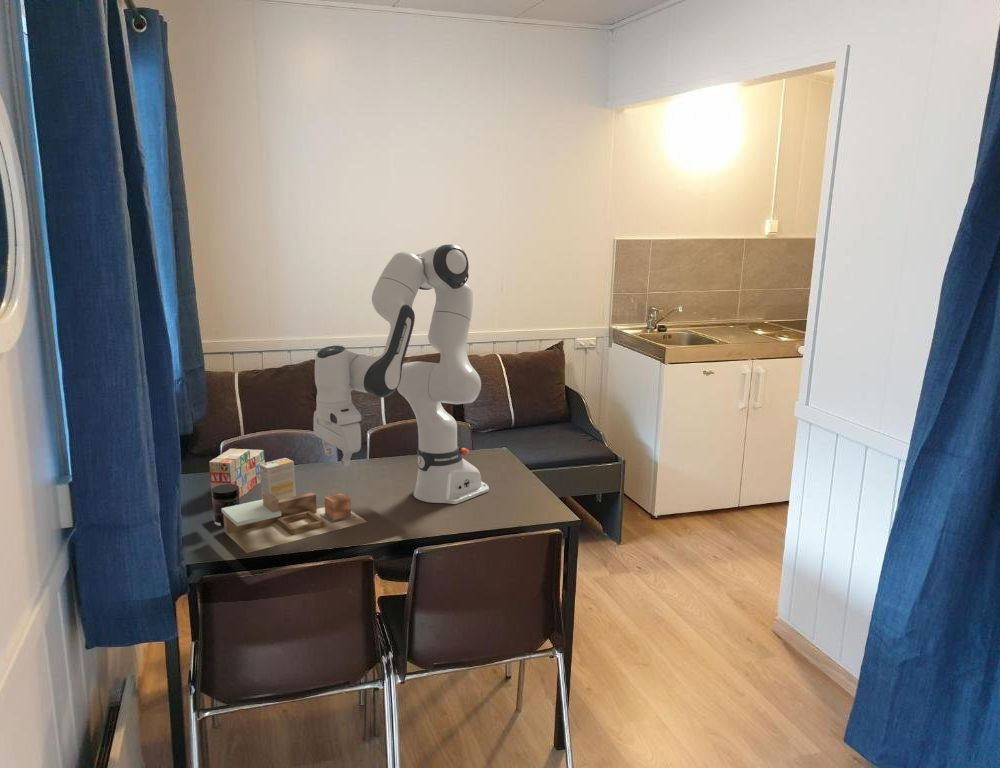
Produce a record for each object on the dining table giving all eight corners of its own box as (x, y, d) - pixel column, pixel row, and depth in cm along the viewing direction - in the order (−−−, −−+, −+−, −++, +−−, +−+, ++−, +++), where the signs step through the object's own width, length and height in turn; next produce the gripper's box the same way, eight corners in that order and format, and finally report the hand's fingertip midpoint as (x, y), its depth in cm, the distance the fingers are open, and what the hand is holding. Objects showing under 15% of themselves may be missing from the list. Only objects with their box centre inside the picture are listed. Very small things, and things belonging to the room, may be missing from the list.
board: (339, 508, 216) (338, 485, 215) (367, 527, 204) (367, 502, 203) (224, 536, 197) (222, 511, 196) (247, 558, 185) (245, 532, 183)
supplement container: (247, 524, 205) (244, 486, 203) (228, 533, 199) (225, 494, 197) (227, 519, 208) (225, 482, 206) (208, 528, 202) (205, 490, 200)
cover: (264, 502, 201) (263, 487, 200) (281, 515, 193) (280, 500, 192) (221, 512, 194) (220, 497, 194) (237, 526, 186) (236, 510, 185)
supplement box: (288, 501, 221) (285, 457, 219) (296, 505, 218) (294, 461, 215) (261, 508, 216) (258, 463, 213) (269, 513, 212) (267, 467, 210)
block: (342, 510, 211) (341, 492, 209) (350, 516, 207) (350, 498, 206) (325, 514, 208) (324, 496, 206) (333, 520, 204) (333, 502, 203)
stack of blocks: (247, 477, 240) (244, 439, 238) (266, 478, 240) (264, 440, 237) (211, 502, 220) (208, 461, 217) (232, 504, 219) (229, 462, 216)
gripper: (305, 403, 207) (309, 452, 210) (341, 420, 191) (344, 473, 195) (327, 398, 210) (330, 447, 214) (364, 416, 195) (367, 468, 198)
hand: (337, 460), depth 204 cm, fingers open, 8 cm apart
